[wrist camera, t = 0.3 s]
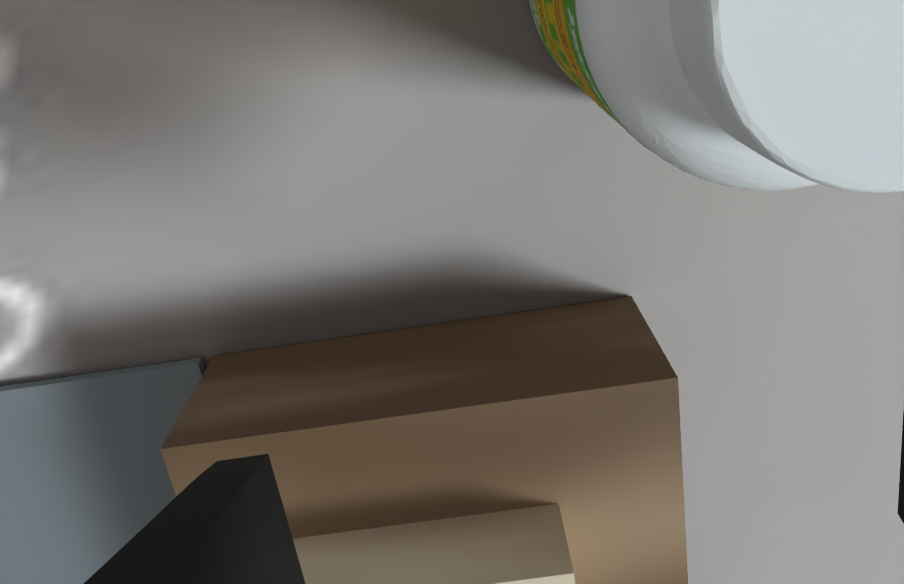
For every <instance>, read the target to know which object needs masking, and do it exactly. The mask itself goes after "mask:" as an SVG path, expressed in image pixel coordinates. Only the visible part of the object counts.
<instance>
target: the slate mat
mask: <svg viewBox="0 0 904 584" xmlns="http://www.w3.org/2000/svg"><path fill="white" fill-rule="evenodd" d="M204 372H205V368H204V364H203V361H202V358H194V359H187V360H180V361H173V362H166V363H159V364H152V365H145V366H138V367H131V368H124V369H117V370H110V371H103V372H96V373H89V374H82V375H75V376H68V377H61V378H54V379H47V380H40V381H33V382H26V383H19V384H12V385H5V386H0V584H83V583H85V582H86V581H87V580H88V579H89V578H90V577H91V576H92V575H93V574H94V573H96V572H97V571H98V570H99V569H100V568H101V567H102V566H103V565H104V564H105V563H106V562H107V561H108V560H109V559H110V558H112V557H113V556H114V555H115V554H116V553H117V552H118V551H119V550H120V549H121V548H122V547H123V546H124V545H125V544H127V543H128V542H129V541H130V540H131V539H132V538H133V537H134V536H135V535H136V534H137V533H138V532H139V531H140V530H141V529H143V528H144V527H145V526H146V525H147V524H148V523H149V522H150V521H151V520H152V519H153V518H154V517H155V516H156V515H157V514H158V513H159V512H160V511H161V510H163V509H164V508H165V507H166V506H167V505H168V504H169V503H170V502H171V501H172V500H173V499H174V498H175V497H176V494H175V491H174V488H173V485H172V482H171V479H170V476H169V473H168V470H167V467H166V464H165V461H164V459H163V456H162V453H161V450H160V449H161V447H162V445H163V444H164V442H165V440H166V438H167V437H168V435H169V433H170V431H171V430H172V428H173V426H174V424H175V423H176V421H177V419H178V417H179V416H180V414H181V412H182V410H183V409H184V407H185V405H186V403H187V402H188V400H189V398H190V396H191V395H192V393H193V391H194V389H195V388H196V386H197V384H198V382H199V381H200V379H201V377H202V375H203V374H204Z"/></svg>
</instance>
